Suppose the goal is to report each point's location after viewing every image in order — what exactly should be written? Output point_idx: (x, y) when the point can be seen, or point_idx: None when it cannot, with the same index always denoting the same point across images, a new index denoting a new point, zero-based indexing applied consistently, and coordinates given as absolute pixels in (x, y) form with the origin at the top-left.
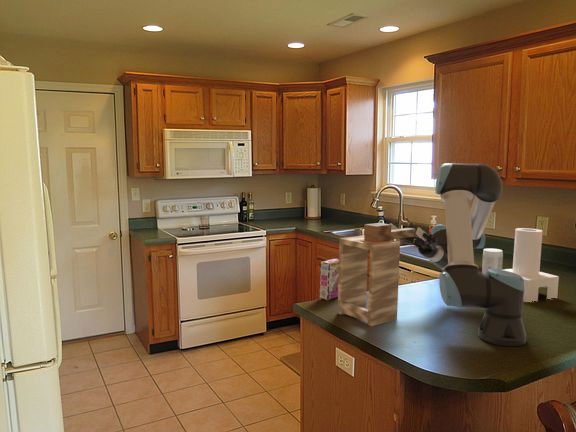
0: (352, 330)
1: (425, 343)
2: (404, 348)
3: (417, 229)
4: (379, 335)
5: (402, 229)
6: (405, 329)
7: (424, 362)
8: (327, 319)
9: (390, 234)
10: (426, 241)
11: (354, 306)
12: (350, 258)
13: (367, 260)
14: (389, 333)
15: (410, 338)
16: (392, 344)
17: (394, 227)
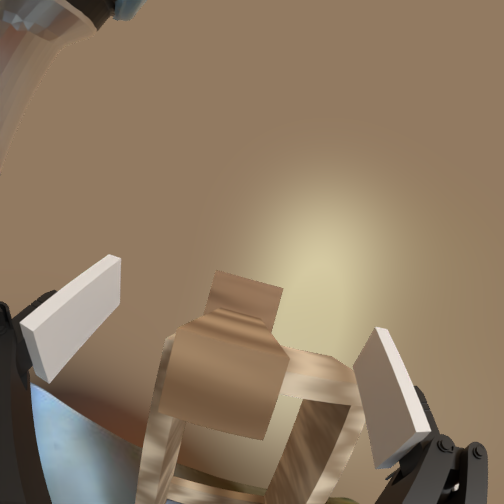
0: (175, 468)
1: (37, 441)
2: (68, 427)
3: (118, 273)
4: (121, 462)
5: (237, 324)
6: (84, 493)
7: (40, 398)
8: (249, 488)
9: (205, 310)
10: (28, 388)
11: (221, 490)
12: (306, 421)
13: (319, 476)
14: (108, 471)
15: (65, 457)
16: (89, 437)
17: (382, 370)
